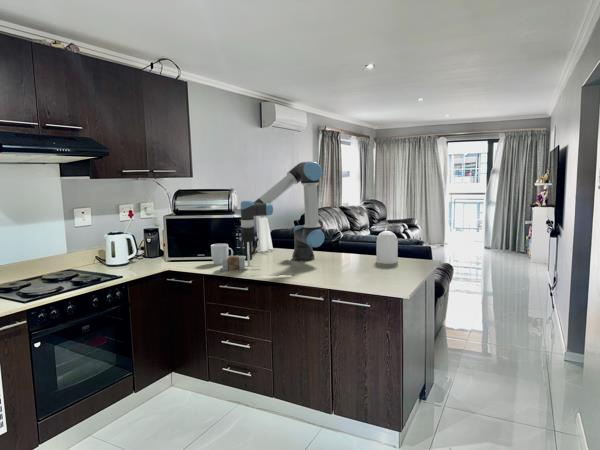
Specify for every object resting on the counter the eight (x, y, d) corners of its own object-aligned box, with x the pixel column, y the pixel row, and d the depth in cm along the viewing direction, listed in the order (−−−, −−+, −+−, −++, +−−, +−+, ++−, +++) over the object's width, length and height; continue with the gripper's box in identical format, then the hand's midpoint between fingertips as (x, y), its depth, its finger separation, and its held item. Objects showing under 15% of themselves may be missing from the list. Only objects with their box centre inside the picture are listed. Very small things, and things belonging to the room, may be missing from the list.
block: (239, 268, 252) (238, 255, 251) (239, 270, 246) (238, 257, 245) (229, 268, 251) (228, 255, 250) (228, 270, 245) (228, 257, 244)
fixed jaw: (229, 268, 252) (229, 256, 252) (228, 271, 244) (228, 259, 243) (223, 268, 252) (223, 257, 251) (222, 271, 244) (222, 259, 243)
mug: (228, 261, 278) (228, 242, 276) (237, 263, 270) (236, 244, 268) (208, 264, 269) (207, 244, 267) (216, 267, 260) (215, 246, 259)
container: (372, 261, 269) (371, 230, 266) (387, 258, 276) (387, 228, 274) (386, 264, 257) (387, 232, 255) (402, 261, 265) (402, 230, 262)
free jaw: (245, 266, 253) (244, 255, 253) (244, 269, 245) (244, 258, 244) (239, 267, 253) (239, 255, 252) (238, 270, 245) (238, 258, 244)
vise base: (261, 267, 256) (261, 265, 256) (262, 272, 245) (261, 269, 244) (220, 269, 254) (220, 267, 254) (219, 274, 242) (219, 271, 242)
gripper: (258, 225, 251) (259, 263, 254) (236, 226, 249) (238, 264, 252) (258, 227, 243) (259, 266, 246) (236, 227, 242) (237, 267, 245)
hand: (249, 265), depth 249 cm, fingers closed
